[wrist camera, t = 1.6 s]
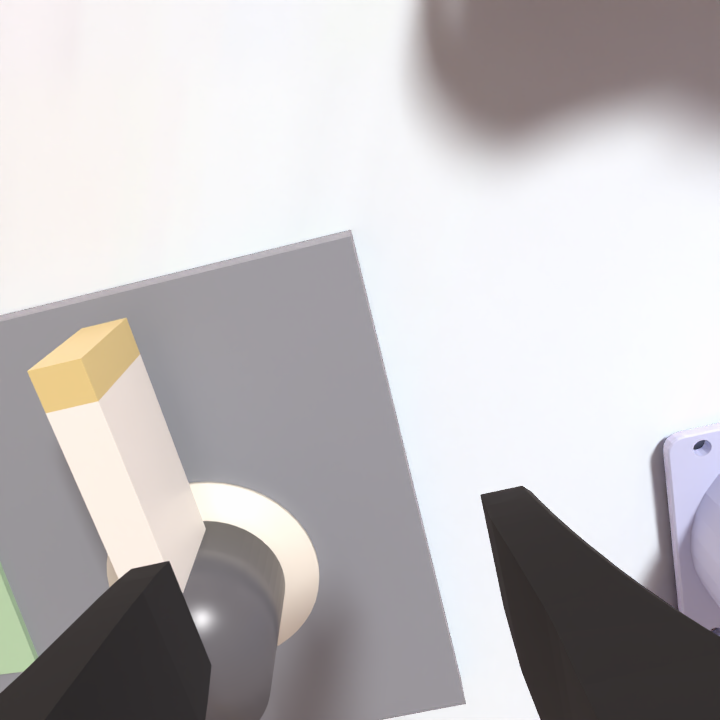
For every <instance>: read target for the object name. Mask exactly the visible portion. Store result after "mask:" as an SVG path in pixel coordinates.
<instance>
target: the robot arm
mask: <svg viewBox="0 0 720 720" xmlns="http://www.w3.org/2000/svg"><path fill="white" fill-rule="evenodd" d="M701 440H705V443H704V445H703V446H702V447H701V448H699V449H697V450H693V449H694V445H695V444H696V443H697V442H699V441H701ZM663 455H664V465H665V475H666V486H667V496H668V506H669V516H670V527H671V537H672V547H673V557H674V568H675V578H676V588H677V598H678V609H679V611H678V610H677V609H675V608H674V607H672V606H671V605H669V604H668V603H666V602H665V601H664V600H662V599H661V598H659V597H658V596H656V595H655V594H653V593H652V592H651V591H649V590H648V589H646V588H645V587H643V586H642V585H641V584H639V583H638V582H636V581H635V580H634V579H632V578H631V577H630V576H628V575H627V574H626V573H624V572H623V571H622V570H620V569H619V568H618V567H616V566H615V565H614V564H613V563H611V562H610V561H609V560H608V559H606V558H605V557H604V556H603V555H601V554H600V553H599V552H598V551H596V550H595V549H594V548H593V547H591V546H590V545H589V544H588V543H586V542H585V541H584V540H583V539H582V538H580V537H579V536H578V535H577V534H576V533H575V532H573V531H572V530H571V529H570V528H569V527H568V526H567V525H565V524H564V523H563V522H562V521H561V520H560V519H559V518H558V517H557V516H555V515H554V514H553V513H552V512H551V511H550V510H549V509H548V508H547V507H546V506H545V505H544V504H543V503H542V502H541V501H540V500H539V499H538V498H537V497H536V496H535V495H534V494H533V493H532V492H531V491H529V490H528V489H526V488H525V487H523V486H519V487H515V488H510V489H505V490H500V491H496V492H491V493H486V494H482V495H481V500H482V504H483V509H484V514H485V519H486V524H487V529H488V533H489V538H490V543H491V548H492V553H493V558H494V562H495V567H496V572H497V577H498V582H499V587H500V591H501V596H502V601H503V606H504V610H505V613H506V617H507V620H508V624H509V628H510V631H511V635H512V638H513V642H514V646H515V649H516V653H517V656H518V660H519V663H520V667H521V670H522V673H523V676H524V678H525V681H526V684H527V686H528V689H529V691H530V694H531V696H532V699H533V701H534V704H535V707H536V709H537V712H538V714H539V717H540V719H541V720H720V423H716V424H711V425H706V426H702V427H697V428H692V429H688V430H683V431H679V432H676V433H673V434H672V435H670V436H669V437H668V438H667V439H666V441H665V443H664V446H663ZM716 627H717V628H716ZM713 628H716V629H715V630H713V631H711V629H713ZM211 666H212V665H211V662H210V660H209V658H208V655H207V653H206V650H205V648H204V645H203V643H202V640H201V638H200V635H199V633H198V630H197V628H196V625H195V623H194V621H193V618H192V616H191V613H190V611H189V608H188V606H187V603H186V601H185V598H184V596H183V593H182V591H181V588H180V586H179V584H178V581H177V579H176V576H175V574H174V571H173V569H172V566H171V564H170V561H166V562H161V563H156V564H152V565H147V566H142V567H138V568H133V569H130V570H129V571H128V572H127V573H125V574H124V575H123V576H122V577H121V578H120V579H118V580H117V581H116V582H115V583H114V584H113V585H112V586H111V587H110V588H109V589H107V590H106V591H105V592H104V593H103V594H102V595H101V596H100V597H99V598H98V599H97V600H96V601H95V602H94V603H93V604H92V605H91V606H90V607H89V608H88V609H87V610H86V611H85V612H84V613H83V614H82V615H81V616H80V617H79V618H78V619H77V620H76V621H75V622H74V623H73V624H72V625H71V626H70V627H69V628H68V629H66V630H65V631H64V632H63V633H62V634H61V635H60V636H59V637H58V638H57V639H56V640H55V641H54V642H53V643H52V644H51V645H50V646H49V647H48V648H47V649H46V650H45V651H44V652H43V653H42V654H41V655H40V656H39V657H38V658H37V659H36V660H35V661H34V662H33V663H32V664H31V665H30V666H29V667H28V668H27V669H26V670H25V671H24V672H23V673H22V674H21V675H19V676H18V677H17V678H16V679H15V680H14V681H13V682H12V683H11V684H10V685H9V686H8V687H6V688H5V689H4V690H3V691H2V692H1V693H0V720H205V719H206V711H207V704H208V695H209V685H210V676H211Z"/></svg>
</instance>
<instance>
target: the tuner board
mask: <svg viewBox="0 0 720 720" xmlns="http://www.w3.org/2000/svg"><path fill="white" fill-rule="evenodd" d="M123 318H127V320H128V323H129V326H130V328H131V331H132V334H133V336H134V339H135V342H136V344H137V347H138V350H139V352H140V355H141V358H142V360H143V363H144V366H145V368H146V371H147V374H148V376H149V379H150V382H151V384H152V387H153V390H154V392H155V395H156V398H157V400H158V403H159V406H160V408H161V411H162V414H163V416H164V419H165V422H166V424H167V427H168V430H169V432H170V435H171V437H172V440H173V443H174V445H175V448H176V451H177V453H178V456H179V459H180V461H181V464H182V467H183V469H184V472H185V475H186V477H187V480H188V483H189V485H190V488H191V491H192V493H193V496H194V499H195V501H196V504H197V507H198V509H199V512H200V515H201V517H202V520H203V521H216V522H222V523H228V524H231V525H234V526H237V527H240V528H242V529H244V530H247V531H248V532H250V533H252V534H254V535H255V536H257V537H258V538H259V539H261V540H262V541H263V542H264V543H265V544H266V545H267V546H268V547H269V548H270V549H271V550H272V551H273V553H274V554H275V555H276V557H277V559H278V560H279V562H280V565H281V567H282V569H283V573H284V577H285V595H284V602H283V609H282V616H281V623H280V630H279V636H278V643H277V650H276V657H275V664H274V671H273V678H272V685H271V692H270V698H269V702H268V705H267V708H266V710H265V712H264V714H263V716H262V717H261V719H260V720H383V719H388V718H393V717H398V716H404V715H409V714H414V713H420V712H425V711H430V710H435V709H441V708H446V707H451V706H456V705H462V704H466V703H465V698H464V692H463V687H462V682H461V677H460V673H459V669H458V665H457V661H456V657H455V653H454V649H453V645H452V641H451V636H450V632H449V628H448V624H447V620H446V616H445V612H444V608H443V604H442V600H441V596H440V592H439V587H438V583H437V579H436V575H435V571H434V567H433V563H432V559H431V555H430V551H429V547H428V543H427V538H426V534H425V530H424V526H423V522H422V518H421V514H420V510H419V506H418V502H417V498H416V494H415V489H414V485H413V481H412V477H411V473H410V469H409V465H408V461H407V457H406V453H405V449H404V445H403V440H402V436H401V432H400V428H399V424H398V420H397V416H396V412H395V408H394V404H393V400H392V396H391V391H390V387H389V383H388V379H387V375H386V371H385V367H384V363H383V359H382V355H381V351H380V347H379V342H378V338H377V334H376V330H375V326H374V322H373V318H372V314H371V310H370V306H369V302H368V298H367V293H366V289H365V285H364V281H363V277H362V273H361V269H360V265H359V261H358V257H357V253H356V249H355V245H354V240H353V236H352V232H351V230H348V231H344V232H340V233H336V234H332V235H328V236H324V237H320V238H316V239H311V240H307V241H303V242H299V243H295V244H291V245H287V246H283V247H279V248H275V249H271V250H266V251H262V252H258V253H254V254H250V255H246V256H242V257H238V258H234V259H230V260H226V261H221V262H217V263H213V264H209V265H205V266H201V267H197V268H193V269H189V270H185V271H181V272H176V273H172V274H168V275H164V276H160V277H156V278H152V279H148V280H144V281H140V282H136V283H132V284H127V285H123V286H119V287H115V288H111V289H107V290H103V291H99V292H95V293H91V294H87V295H82V296H78V297H74V298H70V299H66V300H62V301H58V302H54V303H50V304H46V305H42V306H37V307H33V308H29V309H25V310H21V311H17V312H13V313H9V314H5V315H1V316H0V693H1V692H2V691H3V690H4V689H5V688H6V687H8V686H9V685H10V684H11V683H12V682H13V681H14V680H15V679H16V678H17V677H18V676H19V675H21V674H22V673H23V672H24V671H25V670H26V669H27V668H28V667H29V666H30V665H31V664H32V663H33V662H34V661H35V660H36V659H37V658H38V657H39V656H40V655H41V654H42V653H43V652H44V651H45V650H46V649H47V648H48V647H49V646H50V645H51V644H52V643H53V642H54V641H55V640H56V639H57V638H58V637H59V636H60V635H61V634H62V633H63V632H64V631H65V630H66V629H68V628H69V627H70V626H71V625H72V624H73V623H74V622H75V621H76V620H77V619H78V618H79V617H80V616H81V615H82V614H83V613H84V612H85V611H86V610H87V609H88V608H89V607H90V606H91V605H92V604H93V603H94V602H95V601H96V600H97V599H98V598H99V597H100V596H101V595H102V594H103V593H104V592H105V591H106V590H107V589H109V588H110V587H111V586H112V585H113V584H114V583H115V582H116V581H117V580H118V579H119V578H118V576H117V574H116V572H115V569H114V567H113V565H112V563H111V560H110V558H109V556H108V553H107V551H106V549H105V547H104V544H103V542H102V540H101V538H100V535H99V533H98V531H97V529H96V526H95V524H94V522H93V519H92V517H91V515H90V513H89V510H88V508H87V506H86V504H85V501H84V499H83V497H82V495H81V492H80V490H79V488H78V485H77V483H76V481H75V479H74V476H73V474H72V472H71V470H70V467H69V465H68V463H67V460H66V458H65V456H64V454H63V451H62V449H61V447H60V445H59V442H58V440H57V438H56V436H55V433H54V431H53V429H52V426H51V424H50V422H49V420H48V417H47V415H46V413H45V411H44V408H43V406H42V404H41V401H40V399H39V397H38V395H37V392H36V390H35V388H34V386H33V383H32V381H31V379H30V377H29V374H28V372H27V371H28V370H29V369H31V368H32V367H33V366H34V365H36V364H37V363H38V362H39V361H41V360H42V359H43V358H45V357H46V356H47V355H48V354H50V353H51V352H52V351H53V350H55V349H56V348H57V347H58V346H60V345H61V344H62V343H64V342H65V341H66V340H67V339H69V338H70V337H71V336H72V335H74V334H75V333H76V332H77V331H79V330H80V329H81V328H85V327H90V326H94V325H98V324H102V323H106V322H110V321H114V320H119V319H123Z"/></svg>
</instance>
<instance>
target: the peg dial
mask: <svg viewBox="0 0 720 720" xmlns="http://www.w3.org/2000/svg"><path fill="white" fill-rule="evenodd" d="M27 372H28V374H29V377H30V379H31V381H32V383H33V386H34V388H35V390H36V392H37V395H38V397H39V399H40V401H41V404H42V406H43V408H44V411H45V413H46V415H47V417H48V420H49V422H50V424H51V426H52V429H53V431H54V433H55V436H56V438H57V440H58V442H59V445H60V447H61V449H62V451H63V454H64V456H65V458H66V460H67V463H68V465H69V467H70V470H71V472H72V474H73V476H74V479H75V481H76V483H77V485H78V488H79V490H80V492H81V495H82V497H83V499H84V501H85V504H86V506H87V508H88V510H89V513H90V515H91V517H92V519H93V522H94V524H95V526H96V529H97V531H98V533H99V535H100V538H101V540H102V542H103V544H104V547H105V549H106V551H107V553H108V556H109V558H110V560H111V563H112V565H113V567H114V569H115V572H116V574H117V576H118V578H119V579H120V578H121V577H122V576H123V575H124V574H125V573H127V572H128V571H129V570H130V569H133V568H138V567H142V566H147V565H152V564H156V563H161V562H166V561H170V564H171V566H172V569H173V571H174V574H175V576H176V579H177V581H178V584H179V586H180V588H181V591H182V593H183V596H184V598H185V601H186V603H187V606H188V608H189V611H190V613H191V616H192V618H193V621H194V623H195V625H196V628H197V630H198V633H199V635H200V638H201V640H202V643H203V645H204V648H205V650H206V653H207V655H208V658H209V660H210V662H211V665H212V666H211V676H210V685H209V695H208V704H207V711H206V719H205V720H260V719H261V717H262V716H263V714H264V712H265V710H266V708H267V705H268V702H269V698H270V692H271V685H272V678H273V671H274V664H275V657H276V650H277V643H278V636H279V630H280V623H281V616H282V609H283V602H284V595H285V577H284V573H283V569H282V567H281V565H280V562H279V560H278V559H277V557H276V555H275V554H274V553H273V551H272V550H271V549H270V548H269V547H268V546H267V545H266V544H265V543H264V542H263V541H262V540H261V539H259V538H258V537H257V536H255V535H254V534H252V533H250V532H248V531H247V530H244V529H242V528H240V527H237V526H234V525H231V524H228V523H222V522H216V521H203V520H202V517H201V515H200V512H199V509H198V507H197V504H196V501H195V499H194V496H193V493H192V491H191V488H190V485H189V483H188V480H187V477H186V475H185V472H184V469H183V467H182V464H181V461H180V459H179V456H178V453H177V451H176V448H175V445H174V443H173V440H172V437H171V435H170V432H169V430H168V427H167V424H166V422H165V419H164V416H163V414H162V411H161V408H160V406H159V403H158V400H157V398H156V395H155V392H154V390H153V387H152V384H151V382H150V379H149V376H148V374H147V371H146V368H145V366H144V363H143V360H142V358H141V355H140V352H139V350H138V347H137V344H136V342H135V339H134V336H133V334H132V331H131V328H130V326H129V323H128V320H127V318H123V319H119V320H114V321H110V322H106V323H102V324H98V325H94V326H90V327H85V328H81V329H80V330H79V331H77V332H76V333H75V334H74V335H72V336H71V337H70V338H69V339H67V340H66V341H65V342H64V343H62V344H61V345H60V346H58V347H57V348H56V349H55V350H53V351H52V352H51V353H50V354H48V355H47V356H46V357H45V358H43V359H42V360H41V361H39V362H38V363H37V364H36V365H34V366H33V367H32V368H31V369H29V370H28V371H27Z"/></svg>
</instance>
